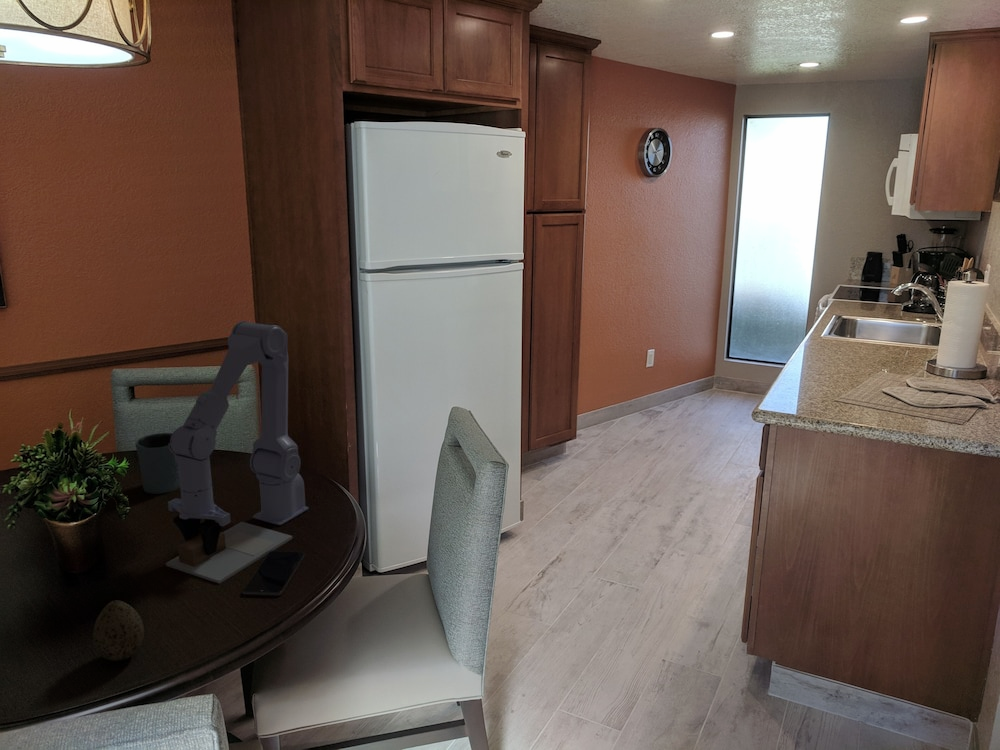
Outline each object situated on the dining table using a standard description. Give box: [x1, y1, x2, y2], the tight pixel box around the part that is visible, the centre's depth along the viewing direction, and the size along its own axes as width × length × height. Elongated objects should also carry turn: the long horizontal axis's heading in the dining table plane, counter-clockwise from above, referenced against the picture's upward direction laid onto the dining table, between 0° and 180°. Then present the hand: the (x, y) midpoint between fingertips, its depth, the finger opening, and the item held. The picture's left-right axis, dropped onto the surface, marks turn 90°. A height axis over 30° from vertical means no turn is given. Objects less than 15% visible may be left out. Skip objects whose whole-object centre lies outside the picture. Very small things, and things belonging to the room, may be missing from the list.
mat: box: [165, 521, 293, 585], centre depth 152 cm, size 20×14×1 cm
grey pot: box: [135, 432, 180, 495], centre depth 180 cm, size 10×10×12 cm
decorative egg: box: [92, 599, 145, 662], centre depth 118 cm, size 7×7×10 cm
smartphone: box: [242, 550, 306, 597], centre depth 144 cm, size 7×1×16 cm
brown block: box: [177, 531, 226, 567], centre depth 149 cm, size 8×4×4 cm, turn 154°
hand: (202, 550), depth 149 cm, fingers closed on brown block, 4 cm apart
